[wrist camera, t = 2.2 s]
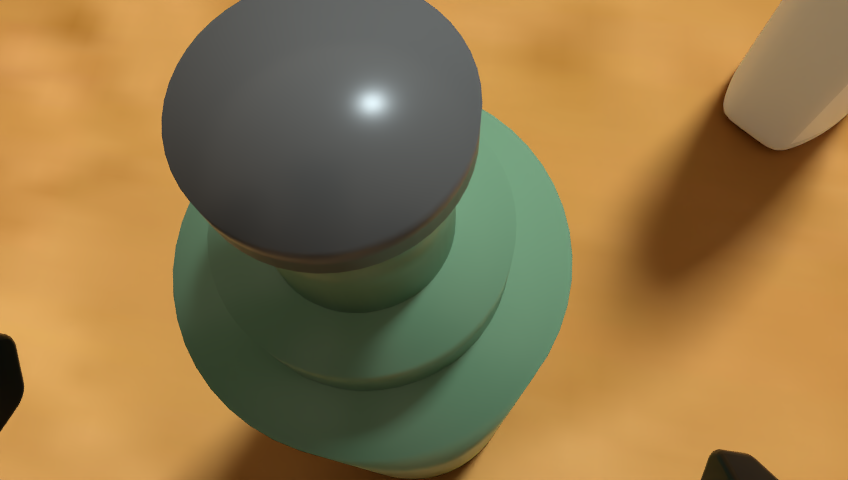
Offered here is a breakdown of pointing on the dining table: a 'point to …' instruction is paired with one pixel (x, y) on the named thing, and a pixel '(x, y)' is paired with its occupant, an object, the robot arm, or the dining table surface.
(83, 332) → the dining table surface
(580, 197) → the dining table surface
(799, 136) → the eye dropper bottle
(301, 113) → the bottle
